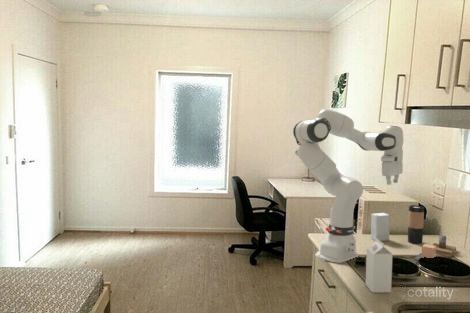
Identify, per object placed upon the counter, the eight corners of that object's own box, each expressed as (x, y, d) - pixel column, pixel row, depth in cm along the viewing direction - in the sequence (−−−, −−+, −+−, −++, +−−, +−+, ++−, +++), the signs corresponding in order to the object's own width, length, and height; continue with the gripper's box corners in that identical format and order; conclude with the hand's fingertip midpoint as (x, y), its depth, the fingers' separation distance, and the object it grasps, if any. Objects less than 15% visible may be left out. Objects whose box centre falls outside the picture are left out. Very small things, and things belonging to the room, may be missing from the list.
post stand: (450, 256, 177) (451, 240, 177) (428, 252, 184) (428, 236, 183) (456, 250, 186) (456, 235, 185) (434, 246, 193) (435, 231, 192)
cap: (432, 260, 170) (433, 248, 170) (421, 258, 174) (421, 246, 173) (435, 258, 174) (436, 245, 173) (424, 255, 177) (424, 243, 177)
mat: (437, 264, 166) (437, 263, 166) (413, 259, 173) (413, 258, 173) (443, 258, 174) (443, 257, 174) (420, 253, 181) (420, 253, 181)
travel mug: (425, 244, 196) (427, 208, 195) (411, 244, 196) (412, 208, 195) (418, 240, 204) (420, 205, 202) (404, 240, 204) (406, 205, 203)
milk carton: (382, 285, 144) (384, 238, 143) (391, 292, 137) (393, 243, 136) (365, 285, 144) (366, 238, 142) (372, 293, 137) (374, 243, 135)
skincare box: (383, 237, 208) (384, 212, 207) (389, 241, 202) (390, 214, 201) (370, 238, 206) (370, 213, 205) (376, 241, 201) (376, 215, 200)
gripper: (394, 156, 197) (393, 181, 198) (379, 157, 182) (378, 185, 183) (406, 156, 193) (405, 182, 194) (392, 158, 178) (391, 186, 179)
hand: (392, 183), depth 188 cm, fingers open, 8 cm apart
